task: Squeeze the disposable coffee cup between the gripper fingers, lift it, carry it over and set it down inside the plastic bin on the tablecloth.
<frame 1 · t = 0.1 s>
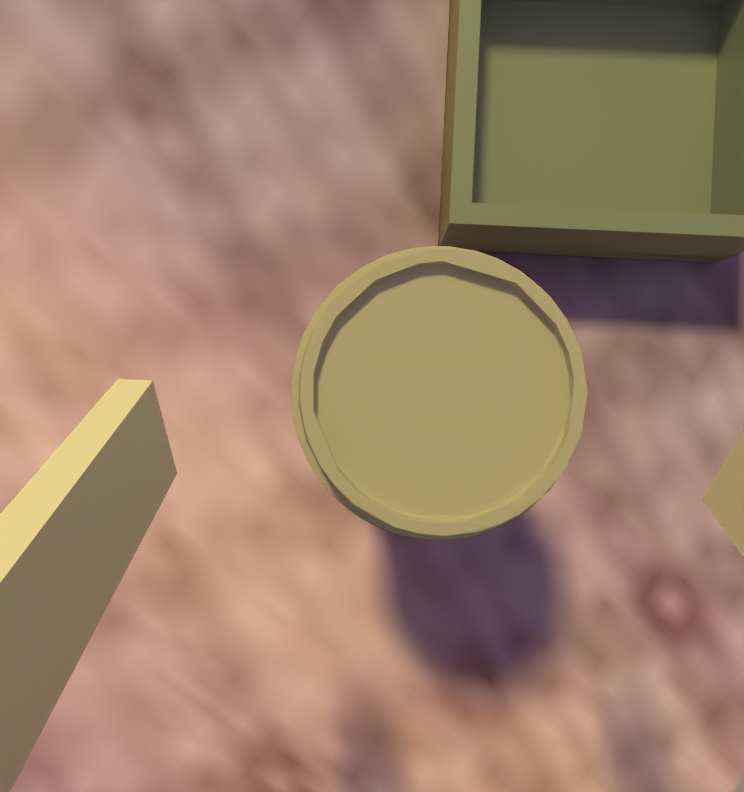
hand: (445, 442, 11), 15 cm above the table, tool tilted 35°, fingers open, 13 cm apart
bin: (581, 128, 26), on the table
disposable coffee cup: (412, 395, 27), on the table
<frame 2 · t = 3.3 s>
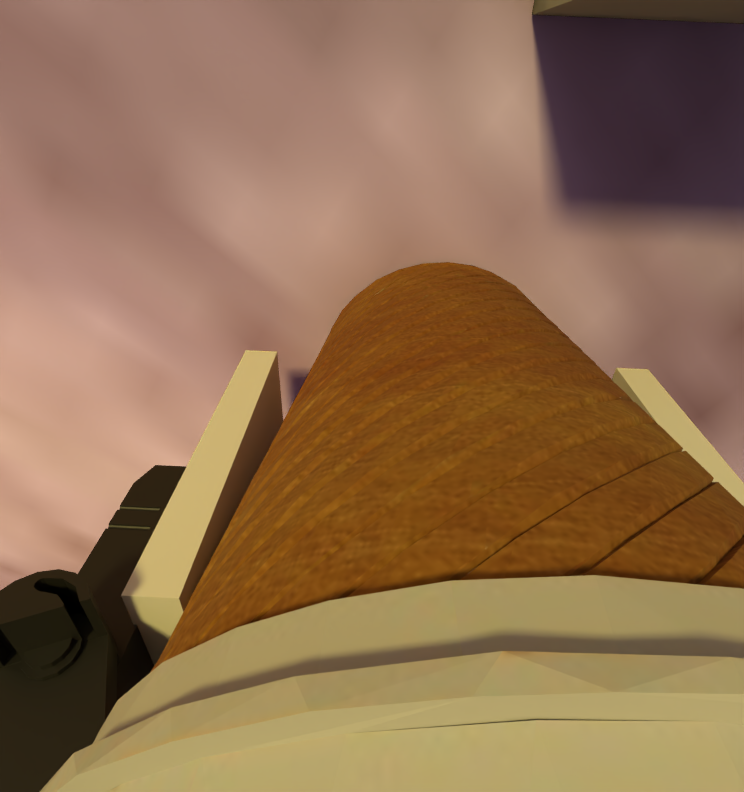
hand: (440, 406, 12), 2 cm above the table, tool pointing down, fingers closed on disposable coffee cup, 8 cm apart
disposable coffee cup: (433, 365, 14), on the table, touching gripper
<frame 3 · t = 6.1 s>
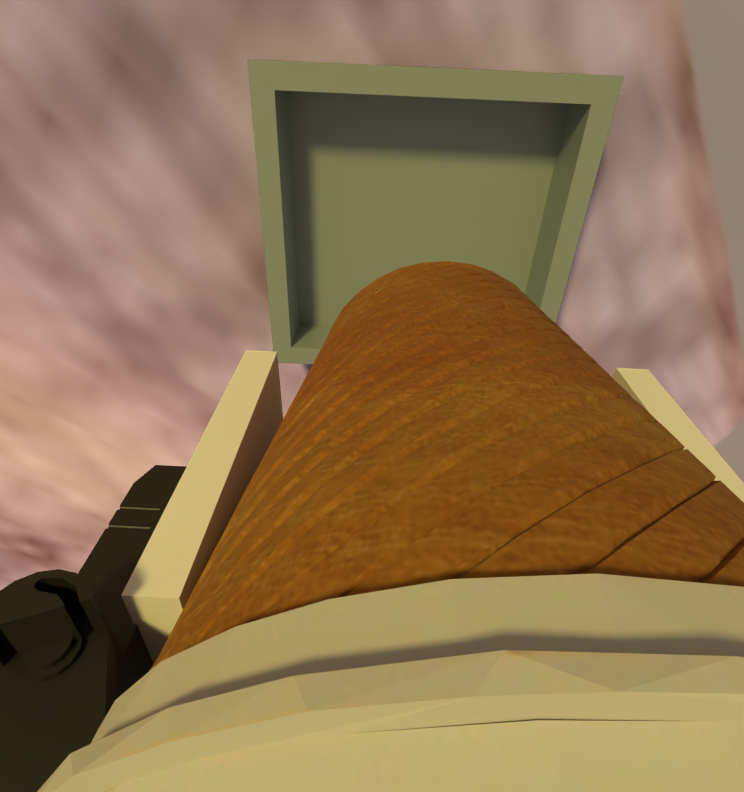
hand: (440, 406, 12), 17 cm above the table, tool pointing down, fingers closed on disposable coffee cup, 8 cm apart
bin: (415, 221, 27), on the table
disposable coffee cup: (434, 365, 14), point 15 cm above the table, touching gripper
when the fingers open (5 cm above the table, at t = 9.2 s): disposable coffee cup drops 2 cm, resting on bin.
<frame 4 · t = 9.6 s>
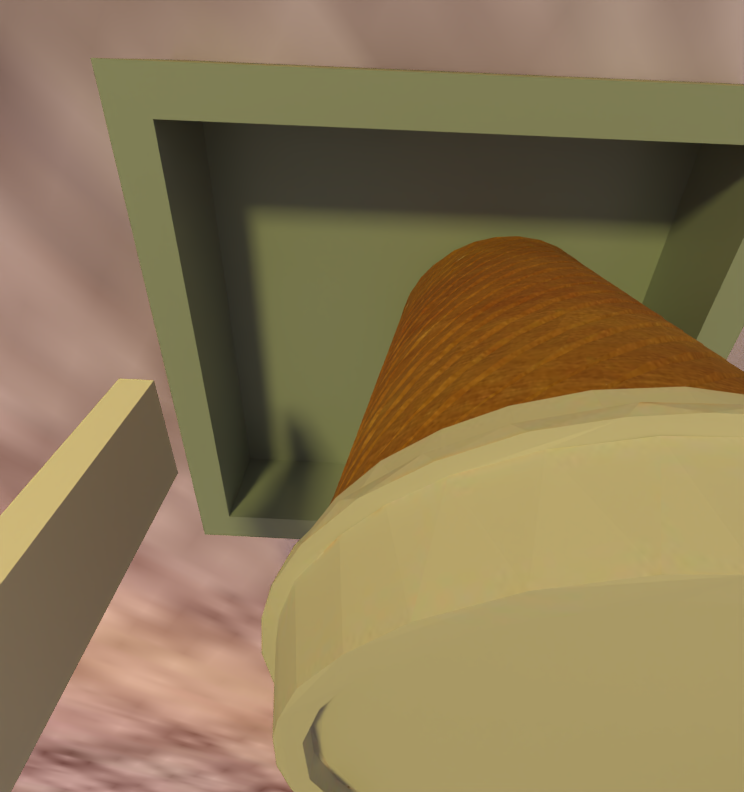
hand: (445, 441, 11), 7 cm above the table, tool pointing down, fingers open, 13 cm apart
bin: (427, 316, 17), on the table
disposable coffee cup: (496, 330, 16), point 1 cm above the table, touching bin, gripper
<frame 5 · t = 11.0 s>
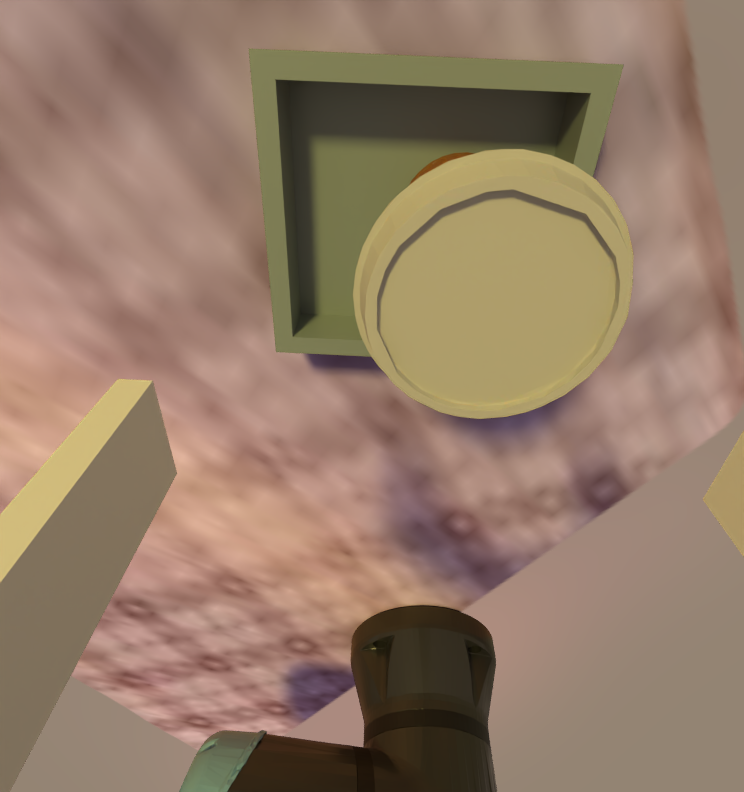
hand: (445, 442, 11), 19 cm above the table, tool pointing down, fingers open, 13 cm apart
bin: (416, 211, 27), on the table
disposable coffee cup: (457, 216, 26), point 1 cm above the table, touching bin
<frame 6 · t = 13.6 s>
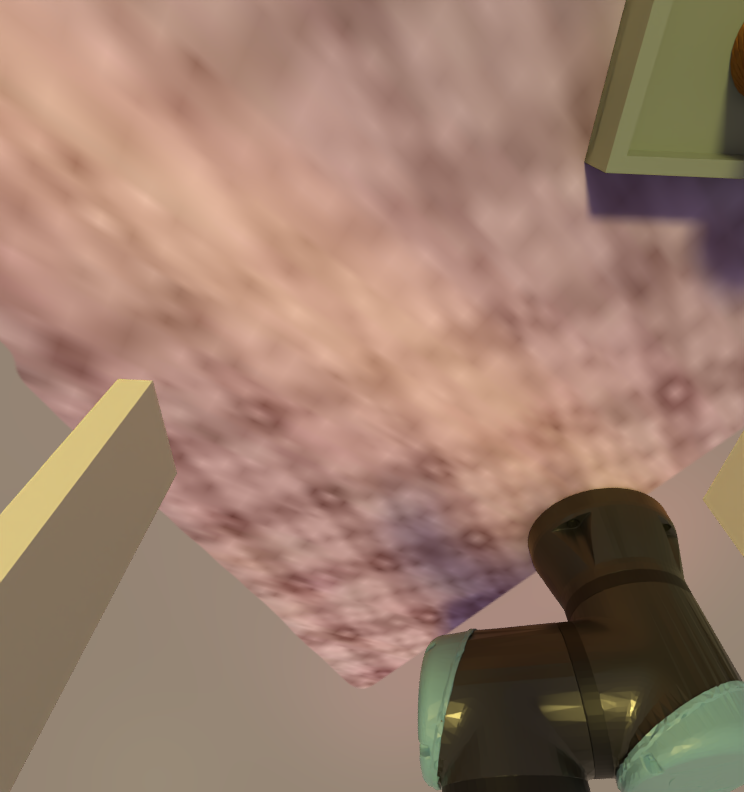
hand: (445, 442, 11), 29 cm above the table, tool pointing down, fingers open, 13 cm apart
bin: (740, 41, 30), on the table
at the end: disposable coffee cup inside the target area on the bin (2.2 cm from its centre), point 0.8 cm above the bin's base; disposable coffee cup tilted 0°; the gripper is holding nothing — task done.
